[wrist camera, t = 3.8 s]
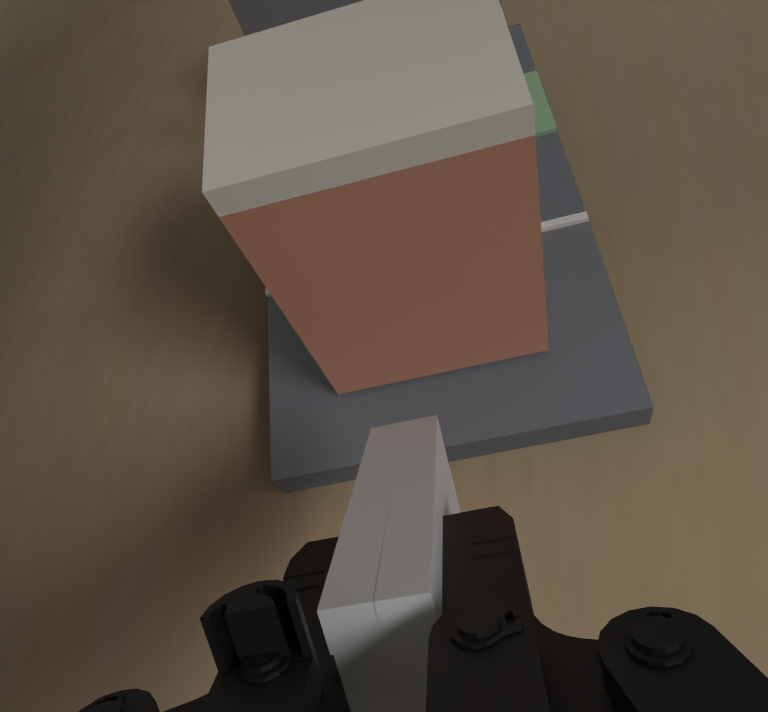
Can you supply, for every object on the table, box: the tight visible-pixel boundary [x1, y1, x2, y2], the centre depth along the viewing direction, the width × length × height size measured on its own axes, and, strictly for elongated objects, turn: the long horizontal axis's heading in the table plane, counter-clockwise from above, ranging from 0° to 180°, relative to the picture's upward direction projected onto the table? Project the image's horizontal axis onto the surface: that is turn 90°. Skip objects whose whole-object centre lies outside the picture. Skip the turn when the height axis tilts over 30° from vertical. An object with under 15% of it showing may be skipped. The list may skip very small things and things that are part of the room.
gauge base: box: [229, 0, 653, 493], centre depth 24 cm, size 12×19×7 cm, turn 6°
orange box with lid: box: [202, 0, 549, 394], centre depth 19 cm, size 7×5×10 cm
